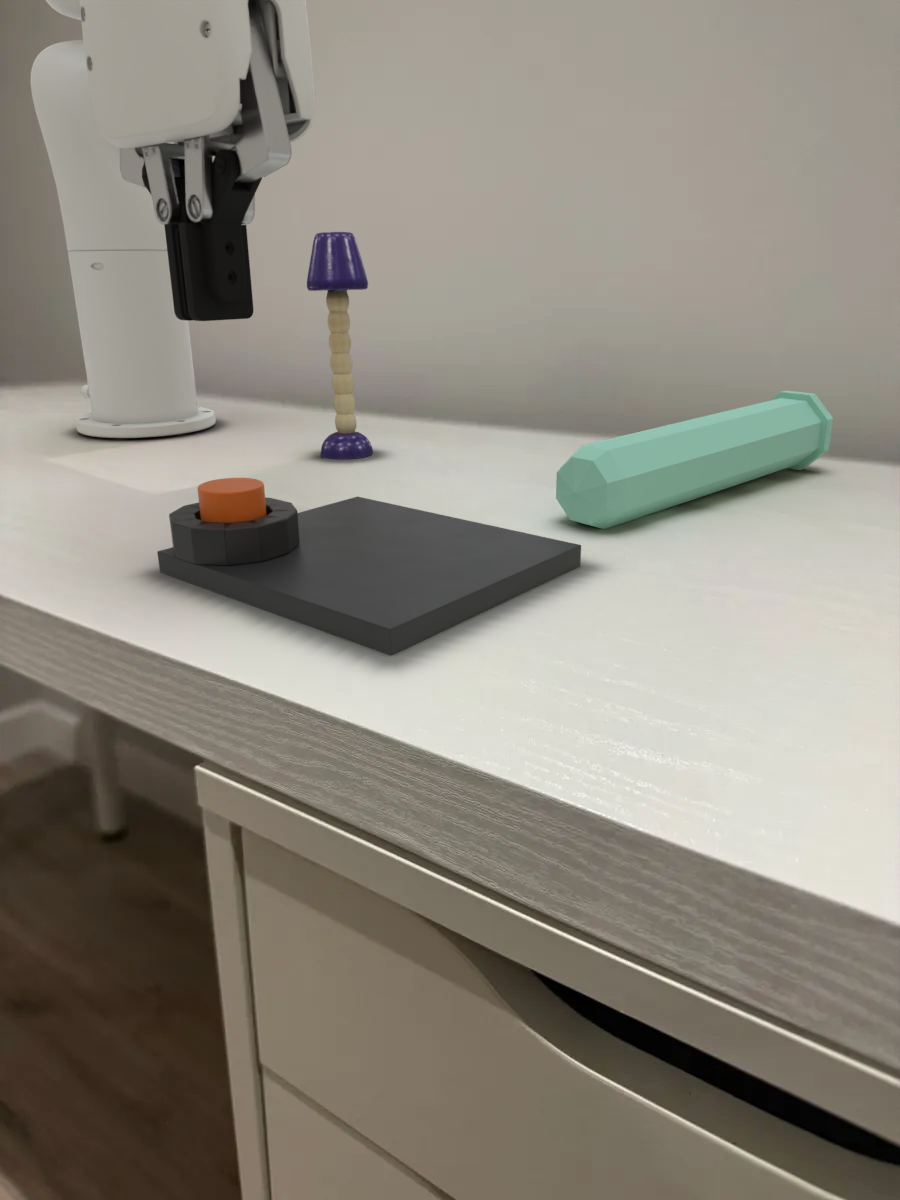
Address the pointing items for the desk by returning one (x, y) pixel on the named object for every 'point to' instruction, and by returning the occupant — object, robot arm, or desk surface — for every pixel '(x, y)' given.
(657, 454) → the container
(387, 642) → the scale
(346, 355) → the toy lamp
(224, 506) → the button
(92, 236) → the robot arm
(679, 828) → the desk surface
